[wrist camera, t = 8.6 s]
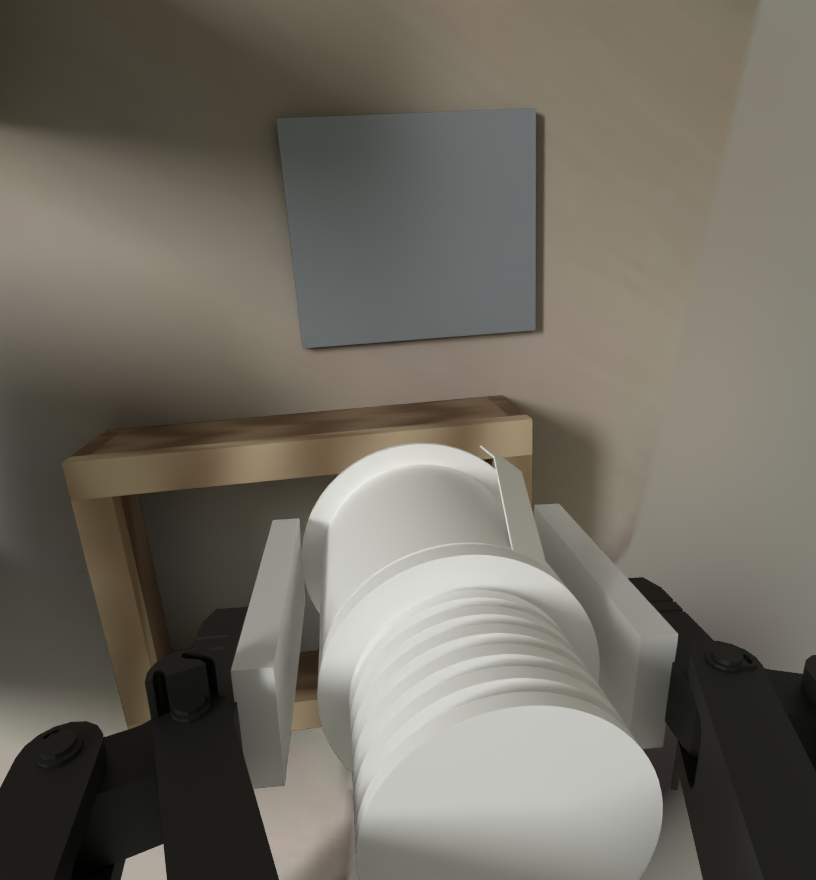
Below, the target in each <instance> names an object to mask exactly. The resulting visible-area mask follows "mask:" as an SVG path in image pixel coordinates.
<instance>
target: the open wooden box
mask: <svg viewBox="0 0 816 880" xmlns="http://www.w3.org/2000/svg"><path fill="white" fill-rule="evenodd" d="M408 443H437V444H443V445H448V446H452V447H456V448H459V449H462V450H464V451H467V452H469V453H471V454H473V455H475V456H477V457H479V458H481V459H488V464H490V465H491V466H492V467H493V468H495V463H494V458H493V457H492V456H490V455H489V454H488V453H487V452H486V451H484V450H483V449H482V448H481V447H480V445H481V446H483V447H485V448H486V449H488V450H490V451H492V452H494V453H495V454H497V455H499V456H501V457H503V458H504V459H506V460H507V461H509V462H510V463H511V464H512V465H514V466H515V467H516V468H518V469H519V470H520V471H521V472H522V474H523V478H524V482H525V486H526V489H527V493H528V497H529V501H530V504H531V508H532V418H530V417H529V416H528V415H526V414H525V413H524V412H523V411H521V410H520V409H519V408H517V407H516V406H515V405H513V404H512V403H511V402H509V401H508V400H507V399H506V398H504V397H503V396H502V395H501V396H489V397H478V398H467V399H456V400H445V401H433V402H422V403H411V404H400V405H388V406H377V407H366V408H355V409H344V410H332V411H321V412H310V413H299V414H287V415H276V416H265V417H254V418H243V419H231V420H220V421H209V422H198V423H186V424H175V425H164V426H153V427H142V428H130V429H119V430H108V431H105V432H104V433H103V434H101V435H100V436H98V437H97V438H96V439H94V440H93V441H91V442H90V443H89V444H87V445H86V446H84V447H83V448H82V449H80V450H79V451H77V452H76V453H75V454H73V455H72V456H70V457H69V458H68V459H66V460H65V461H64V462H62V463H61V465H62V469H63V473H64V477H65V481H66V485H67V489H68V493H69V497H70V501H71V505H72V509H73V513H74V517H75V521H76V525H77V529H78V533H79V537H80V540H81V544H82V548H83V552H84V556H85V560H86V564H87V568H88V572H89V576H90V580H91V584H92V588H93V592H94V596H95V600H96V604H97V608H98V612H99V616H100V620H101V624H102V628H103V632H104V636H105V640H106V644H107V648H108V652H109V656H110V659H111V663H112V667H113V671H114V675H115V679H116V683H117V687H118V691H119V695H120V699H121V703H122V707H123V711H124V715H125V719H126V723H127V727H128V730H129V729H132V728H134V727H137V726H139V725H142V724H144V723H145V722H147V721H149V720H151V716H150V711H149V705H148V699H147V693H146V688H145V678H146V674H147V672H148V671H149V670H150V668H151V667H152V666H153V665H154V663H156V662H157V661H159V660H160V659H162V658H163V657H165V656H166V655H169V654H171V653H172V650H171V646H170V641H169V636H168V632H167V627H166V622H165V618H164V613H163V608H162V604H161V599H160V594H159V590H158V585H157V580H156V576H155V571H154V566H153V562H152V557H151V552H150V548H149V543H148V538H147V534H146V529H145V524H144V520H143V515H142V510H141V506H140V501H139V496H138V494H142V493H152V492H162V491H172V490H182V489H192V488H202V487H212V486H222V485H232V484H242V483H252V482H262V481H272V480H282V479H292V478H302V477H312V476H322V475H332V474H340V473H342V472H343V471H344V470H345V469H346V468H348V467H349V466H351V465H352V464H353V463H355V462H356V461H358V460H360V459H362V458H363V457H365V456H367V455H369V454H372V453H374V452H376V451H379V450H382V449H385V448H388V447H392V446H396V445H401V444H408ZM495 469H496V468H495ZM318 666H319V650H318V651H310V652H303V653H300V655H299V664H298V673H297V682H296V691H295V700H294V708H293V717H292V726H291V731H295V730H302V729H309V728H316V727H322V724H321V721H320V716H319V710H318V698H317V690H318Z"/></svg>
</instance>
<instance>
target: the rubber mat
mask: <svg viewBox="0 0 816 880" xmlns="http://www.w3.org/2000/svg"><path fill="white" fill-rule="evenodd" d="M276 122H277V131H278V139H279V148H280V157H281V165H282V174H283V183H284V191H285V200H286V209H287V217H288V226H289V235H290V243H291V252H292V261H293V270H294V278H295V287H296V296H297V304H298V313H299V322H300V330H301V339H302V348H314V347H327V346H340V345H353V344H365V343H378V342H391V341H404V340H417V339H429V338H442V337H455V336H468V335H481V334H493V333H506V332H519V331H532V330H535V312H536V108H526V109H501V110H475V111H450V112H424V113H399V114H373V115H348V116H322V117H297V118H276Z"/></svg>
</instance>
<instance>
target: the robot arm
mask: <svg viewBox="0 0 816 880" xmlns="http://www.w3.org/2000/svg"><path fill="white" fill-rule="evenodd" d="M534 519H535V523H536V527H537V530H538V534H539V538H540V542H541V545H542V549H543V553H544V556H545V560H546V562H547V563H548V565H549V566H550V567H551V568H552V570H553V571H554V572H555V573H556V575H557V576H558V577H559V578H560V579H561V581H562V582H563V583H564V584H565V586H566V587H567V588H568V589H569V591H570V592H571V593H572V594H573V595H574V597H575V598H576V599H577V600H578V601H579V603H580V604H581V606H582V607H583V609H584V610H585V612H586V614H587V616H588V618H589V620H590V622H591V624H592V627H593V629H594V632H595V635H596V639H597V643H598V649H599V657H600V672H599V682H598V685H599V687H600V688H601V690H602V691H603V693H604V694H605V695H606V697H607V698H608V700H609V701H610V703H611V704H612V706H613V707H614V709H615V710H616V712H617V713H618V715H619V716H620V717H621V719H622V720H623V722H624V723H625V725H626V726H627V728H628V729H629V731H630V733H631V734H632V735H633V737H634V738H635V739H636V741H637V742H638V744H639V745H640V747H641V748H642V749H648V748H658V747H663V742H664V735H665V727H666V723H667V725H668V726H669V728H670V729H671V730H672V732H673V733H674V735H675V736H676V737H677V739H678V740H677V747H676V753H675V760H674V767H673V774H672V782H671V789H674V790H677V787H678V781H679V780H680V781H681V785H682V790H683V794H684V798H685V803H686V807H687V812H688V816H689V820H690V825H691V829H692V834H693V838H694V842H695V846H696V851H697V855H698V860H699V864H700V868H701V873H702V877H703V880H816V655H812V656H811V657H809V658H808V659H807V660H806V662H805V667H804V671H803V674H798V673H791V672H783V671H776V670H769V669H764V667H763V666H762V664H761V663H760V662H759V661H758V659H757V658H756V657H755V656H753V655H752V654H750V653H749V652H747V651H746V650H744V649H742V648H739V647H737V646H735V645H732V644H728V643H724V642H720V641H714V640H712V638H710V636H709V635H708V634H706V632H705V631H704V630H703V629H702V628H701V627H700V626H699V625H698V624H697V623H696V622H695V621H694V620H693V619H692V618H691V617H690V616H689V615H688V614H687V613H686V612H683V610H682V608H681V607H680V606H679V605H678V604H677V603H676V602H673V599H672V598H671V597H670V596H669V595H668V594H667V593H666V592H665V591H664V590H663V589H662V588H661V587H659V586H657V585H656V584H654V583H652V582H650V581H648V580H647V579H644V578H643V577H641V578H627V577H626V576H625V575H624V574H623V573H622V572H621V571H620V570H619V569H618V568H617V566H616V565H615V564H614V563H613V562H612V561H611V560H610V559H609V558H608V557H607V556H606V554H605V553H604V552H603V551H602V550H601V549H600V548H599V547H598V546H597V545H596V543H595V542H594V541H593V540H592V539H591V538H590V537H589V536H588V535H587V534H586V533H585V531H584V530H583V529H582V528H581V527H580V526H579V525H578V524H577V523H576V522H575V521H574V519H573V518H572V517H571V516H570V515H569V514H568V513H567V512H566V511H565V510H564V508H563V507H562V506H561V505H560V504H541V505H535V507H534ZM305 602H306V600H305V587H304V573H303V560H302V547H301V534H300V520H299V518H298V519H281V520H273V521H272V525H271V528H270V532H269V535H268V539H267V543H266V546H265V550H264V553H263V557H262V560H261V564H260V568H259V571H258V575H257V578H256V582H255V586H254V589H253V593H252V596H251V600H250V603H249V607H242V608H228V609H216V610H215V611H214V612H213V613H212V614H211V615H210V616H209V617H208V618H207V619H206V620H205V621H204V622H203V623H202V625H201V628H200V630H199V633H198V635H197V640H195V643H194V645H193V648H189V649H183V650H179V651H176V652H174V653H171V654H169V655H166V656H165V657H163V658H162V659H160V660H159V661H157V662H156V663H154V665H153V666H152V667H151V668H150V670H149V671H148V672H147V674H146V678H145V688H146V693H147V699H148V705H149V711H150V716H151V720H149V721H147V722H145V723H144V724H142V725H139V726H137V727H134V728H132V729H129V730H126V731H123V732H120V733H116V734H113V735H110V736H107V737H103V733H102V731H101V730H100V728H99V727H98V726H97V725H95V724H92V723H90V722H87V721H84V722H70V723H66V724H63V725H59V726H55V727H53V728H51V729H50V730H48V731H46V732H44V733H42V734H40V735H38V736H37V737H36V738H34V739H33V740H32V741H31V742H29V743H28V744H27V745H25V747H24V748H23V749H22V750H21V752H20V753H19V754H18V756H17V757H16V758H15V760H14V762H13V764H12V766H11V768H10V770H9V772H8V774H7V776H6V778H5V780H4V781H3V783H2V785H1V787H0V880H121V876H122V872H123V867H124V863H125V859H127V858H129V857H132V856H134V855H137V854H139V853H142V852H144V851H147V850H149V849H152V848H154V847H157V846H159V845H161V844H164V853H165V863H166V873H167V880H279V878H278V875H277V871H276V868H275V864H274V860H273V857H272V853H271V850H270V846H269V843H268V839H267V836H266V832H265V829H264V825H263V822H262V818H261V815H260V811H259V808H258V804H257V801H256V797H255V794H254V790H253V789H256V788H266V787H276V786H285V780H286V771H287V762H288V753H289V744H290V735H291V726H292V717H293V708H294V700H295V691H296V682H297V673H298V664H299V655H300V646H301V637H302V628H303V619H304V611H305Z"/></svg>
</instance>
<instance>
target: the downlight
mask: <svg viewBox="0 0 816 880" xmlns="http://www.w3.org/2000/svg"><path fill="white" fill-rule="evenodd" d="M480 447H481V448H482V449H483V450H484V451H486V452H487V453H488V454H489V455H490V456H492V457H493V458H494V463H495V468H496V469H495V468H493V467H492V466H491V465H490V464H488V463H487V462H485V461H484V460H482V459H481V458H479V457H477V456H475V455H473V454H471V453H469V452H467V451H464V450H462V449H459V448H456V447H452V446H448V445H443V444H437V443H408V444H401V445H396V446H392V447H388V448H385V449H382V450H379V451H376V452H374V453H372V454H369V455H367V456H365V457H363V458H362V459H360V460H358V461H356V462H355V463H353V464H352V465H351V466H349V467H348V468H346V469H345V470H344V471H343V472H342V473H340V474H339V475H338V476H337V477H336V478H335V479H334V480H333V481H332V482H331V483H330V484H329V485H328V487H327V488H326V489H325V490H324V492H323V493H322V494H321V496H320V497H319V499H318V501H317V502H316V504H315V506H314V508H313V510H312V512H311V514H310V516H309V519H308V522H307V525H306V528H305V532H304V537H303V543H302V560H303V573H304V581H305V585H306V588H307V591H308V594H309V596H310V598H311V600H312V602H313V604H314V606H315V608H316V609H317V611H318V612H319V614H320V636H319V666H318V690H317V698H318V710H319V716H320V721H321V724H322V727H323V731H324V733H325V735H326V738H327V740H328V742H329V744H330V746H331V747H332V749H333V751H334V753H335V754H336V755H337V757H338V758H339V759H340V761H341V762H342V763H343V764H344V765H345V766H346V767H347V768H348V769H349V771H351V772H352V778H353V799H354V823H355V845H356V867H357V873H358V879H359V880H639V879H640V877H641V876H642V874H643V873H644V871H645V869H646V867H647V866H648V864H649V862H650V860H651V858H652V855H653V853H654V851H655V848H656V845H657V842H658V839H659V834H660V830H661V824H662V814H663V802H662V794H661V789H660V784H659V780H658V778H657V775H656V772H655V770H654V768H653V766H652V764H651V762H650V760H649V758H648V757H647V755H646V754H645V753H644V751H643V750H642V748H641V747H640V745H639V744H638V742H637V741H636V739H635V738H634V737H633V735H632V734H631V733H630V731H629V729H628V728H627V726H626V725H625V723H624V722H623V720H622V719H621V717H620V716H619V715H618V713H617V712H616V710H615V709H614V707H613V706H612V704H611V703H610V701H609V700H608V698H607V697H606V695H605V694H604V693H603V691H602V690H601V688H600V687H599V685H598V682H599V672H600V657H599V649H598V643H597V639H596V635H595V632H594V629H593V627H592V624H591V622H590V620H589V618H588V616H587V614H586V612H585V610H584V609H583V607H582V606H581V604H580V603H579V601H578V600H577V599H576V598H575V597H574V595H573V594H572V593H571V592H570V591H569V589H568V588H567V587H566V586H565V584H564V583H563V582H562V581H561V579H560V578H559V577H558V576H557V575H556V573H555V572H554V571H553V570H552V568H551V567H550V566H549V565H548V563H547V562H546V560H545V556H544V553H543V549H542V545H541V542H540V538H539V534H538V530H537V527H536V523H535V519H534V515H533V512H532V508H531V504H530V501H529V497H528V493H527V489H526V486H525V482H524V478H523V474H522V472H521V471H520V470H519V469H518V468H516V467H515V466H514V465H512V464H511V463H510V462H509V461H507V460H506V459H504V458H503V457H501V456H499V455H497V454H495V453H494V452H492V451H490V450H488V449H486V448H485V447H483V446H481V445H480Z"/></svg>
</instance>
